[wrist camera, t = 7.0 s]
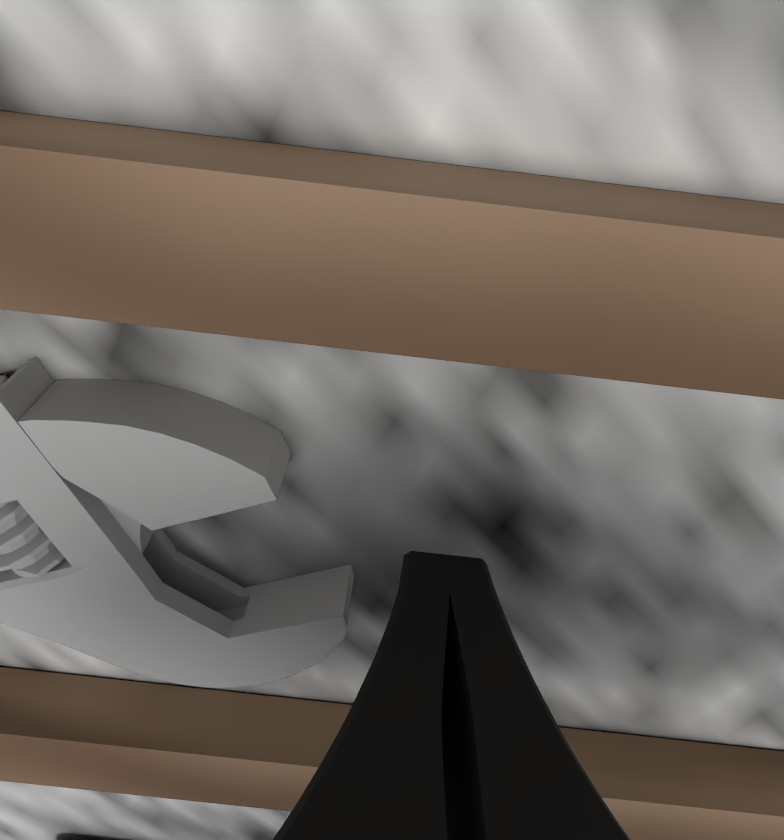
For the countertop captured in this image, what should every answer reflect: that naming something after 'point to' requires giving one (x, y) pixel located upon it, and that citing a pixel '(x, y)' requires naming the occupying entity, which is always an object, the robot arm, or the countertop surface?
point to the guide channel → (383, 333)
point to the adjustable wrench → (147, 532)
